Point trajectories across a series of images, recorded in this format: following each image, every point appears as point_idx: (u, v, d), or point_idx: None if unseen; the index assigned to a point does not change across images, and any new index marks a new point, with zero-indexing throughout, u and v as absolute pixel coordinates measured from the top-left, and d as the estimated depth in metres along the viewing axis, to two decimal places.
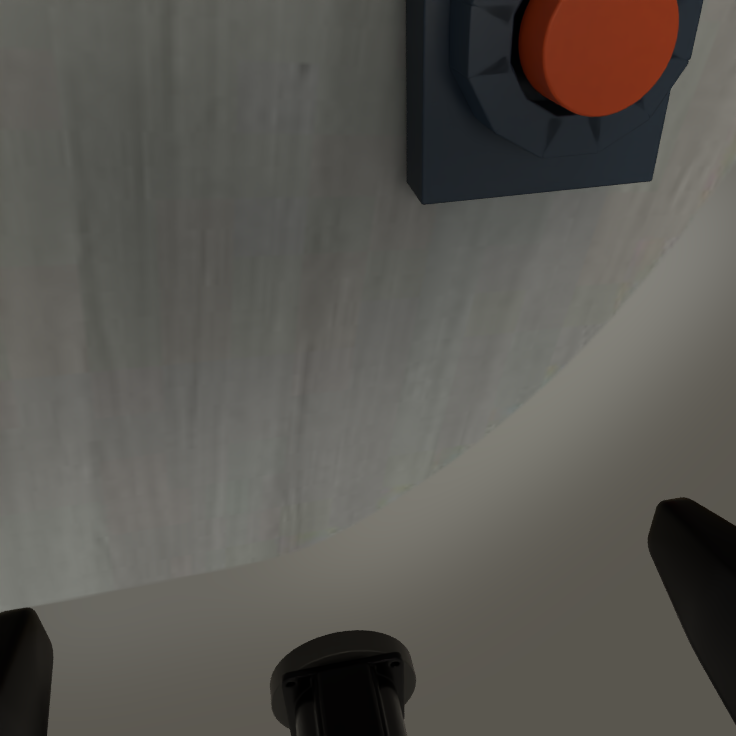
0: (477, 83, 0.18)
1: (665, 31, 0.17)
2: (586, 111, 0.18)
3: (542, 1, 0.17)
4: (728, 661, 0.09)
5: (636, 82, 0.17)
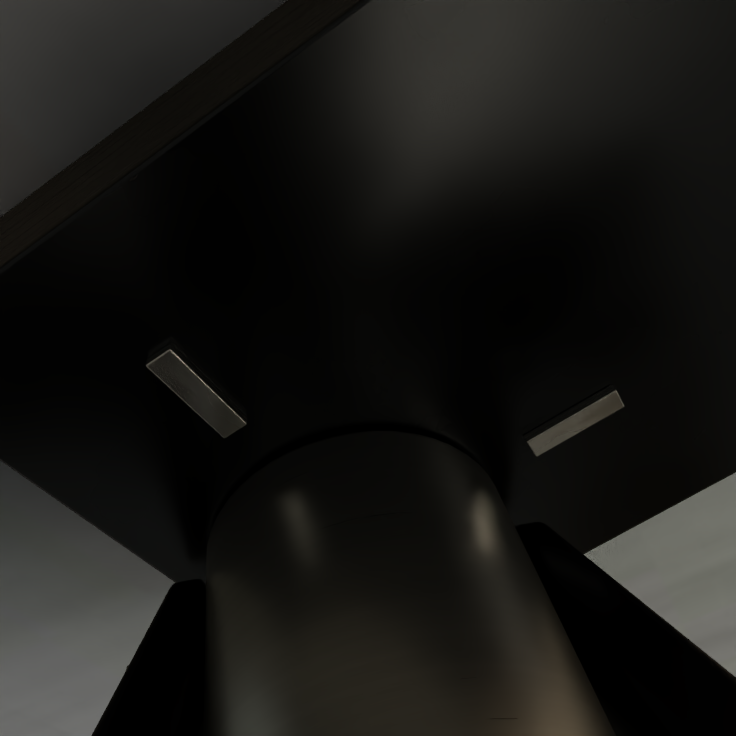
0: None
1: None
2: None
3: None
4: None
5: None
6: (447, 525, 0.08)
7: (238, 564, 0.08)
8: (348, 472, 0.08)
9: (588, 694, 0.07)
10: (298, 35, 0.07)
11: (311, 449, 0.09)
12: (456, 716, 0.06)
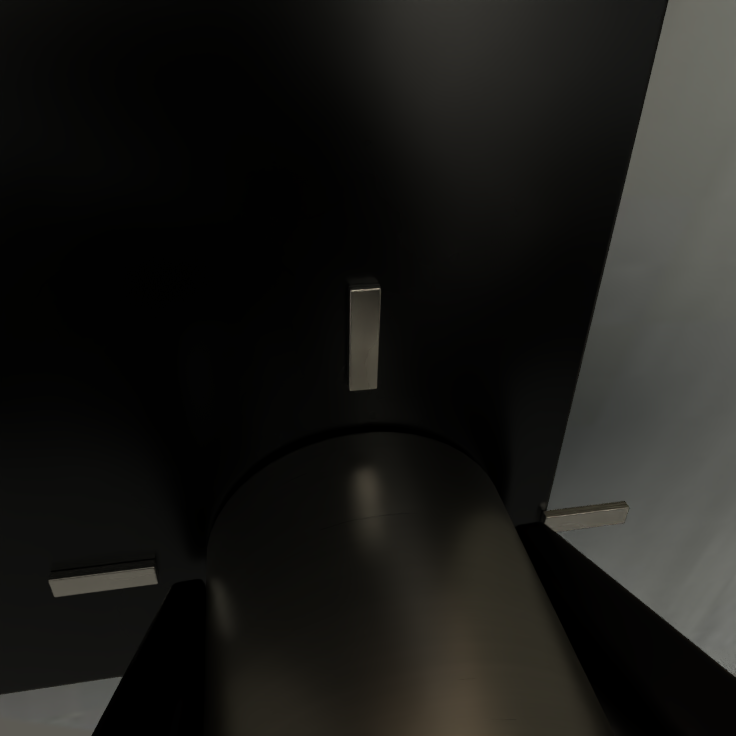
0: None
1: None
2: None
3: None
4: None
5: None
6: (447, 526, 0.08)
7: (238, 567, 0.08)
8: (347, 473, 0.08)
9: (587, 695, 0.07)
10: None
11: (310, 450, 0.09)
12: (454, 718, 0.06)
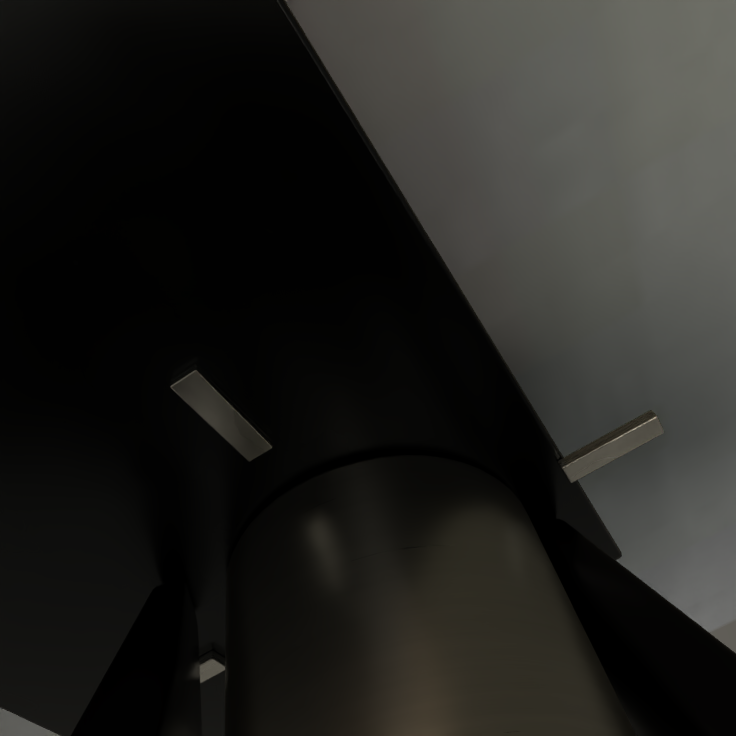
0: None
1: None
2: None
3: None
4: None
5: None
6: (483, 560, 0.07)
7: (263, 596, 0.08)
8: (378, 500, 0.08)
9: None
10: None
11: (339, 474, 0.08)
12: None
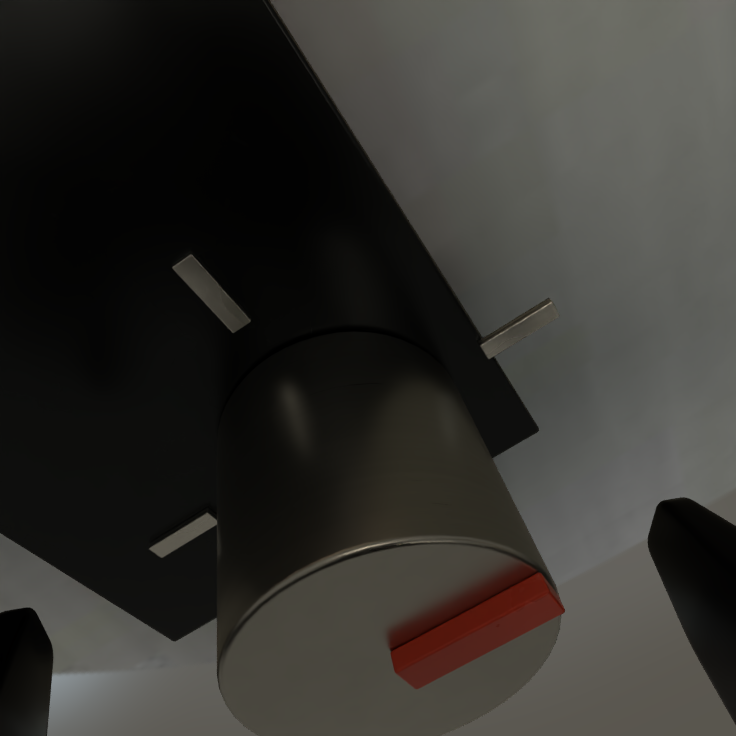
0: None
1: None
2: None
3: None
4: (728, 661, 0.09)
5: None
6: (409, 393, 0.10)
7: (244, 428, 0.10)
8: (332, 358, 0.10)
9: (512, 509, 0.09)
10: None
11: (303, 344, 0.11)
12: (406, 500, 0.08)
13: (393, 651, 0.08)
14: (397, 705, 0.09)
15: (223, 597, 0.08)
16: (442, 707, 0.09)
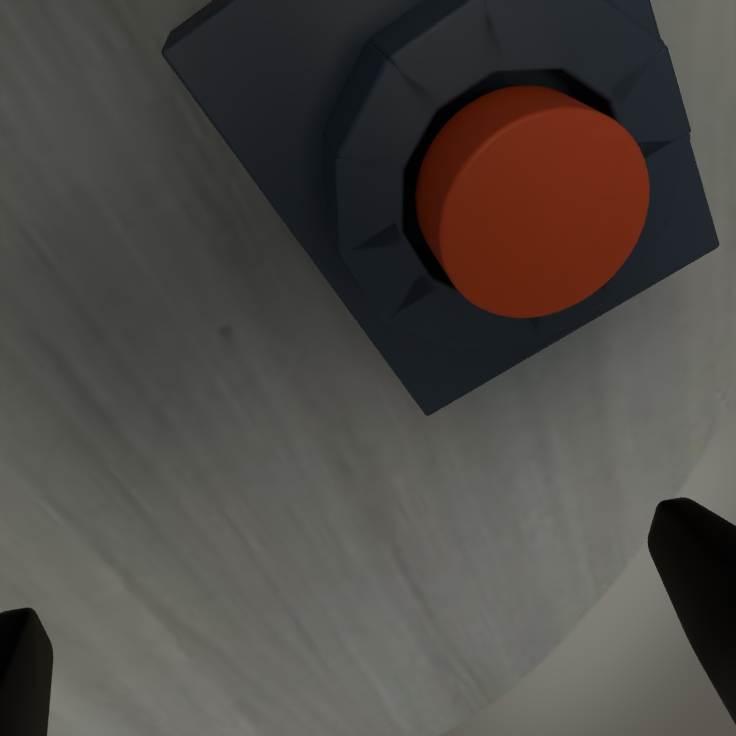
0: (402, 319, 0.13)
1: (621, 166, 0.11)
2: (558, 306, 0.12)
3: (425, 211, 0.11)
4: (728, 661, 0.09)
5: (613, 241, 0.11)
6: None
7: None
8: None
9: None
10: None
11: None
12: None
13: None
14: None
15: None
16: None
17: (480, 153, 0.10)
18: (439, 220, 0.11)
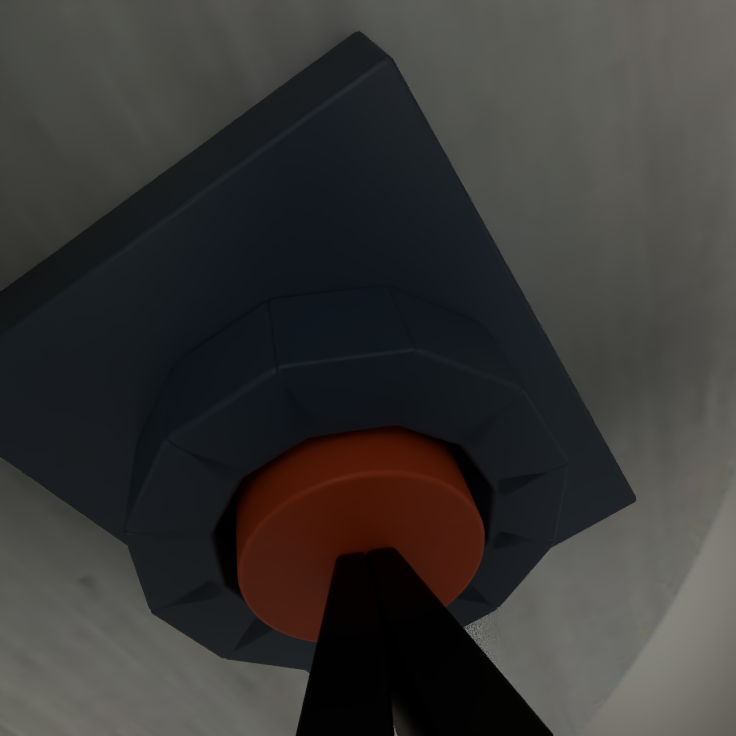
0: (243, 655, 0.11)
1: (444, 513, 0.09)
2: None
3: None
4: (402, 728, 0.08)
5: (448, 572, 0.10)
6: None
7: None
8: None
9: None
10: None
11: None
12: None
13: None
14: None
15: None
16: None
17: (271, 522, 0.09)
18: None
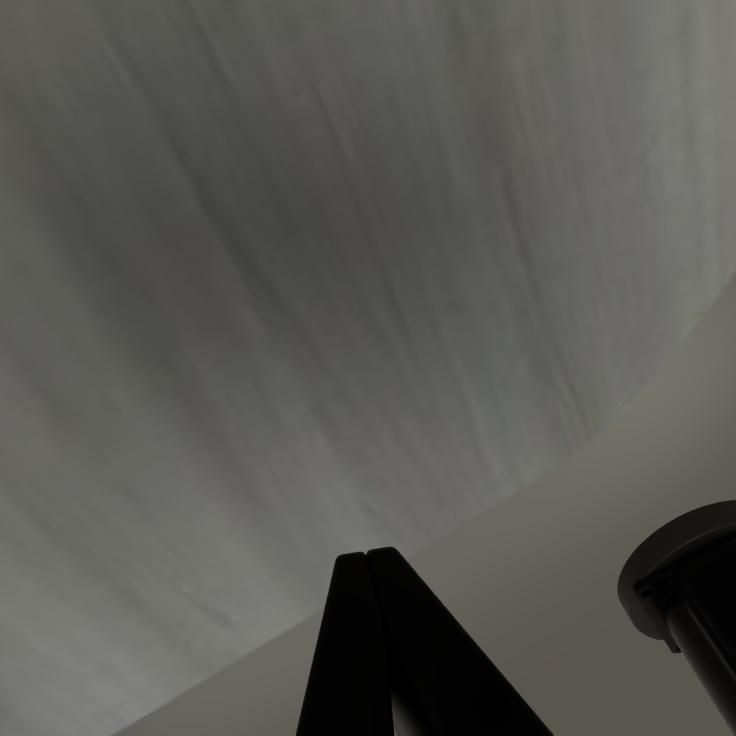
0: None
1: None
2: None
3: None
4: (402, 728, 0.08)
5: None
6: None
7: None
8: None
9: None
10: None
11: None
12: None
13: None
14: None
15: None
16: None
17: None
18: None
